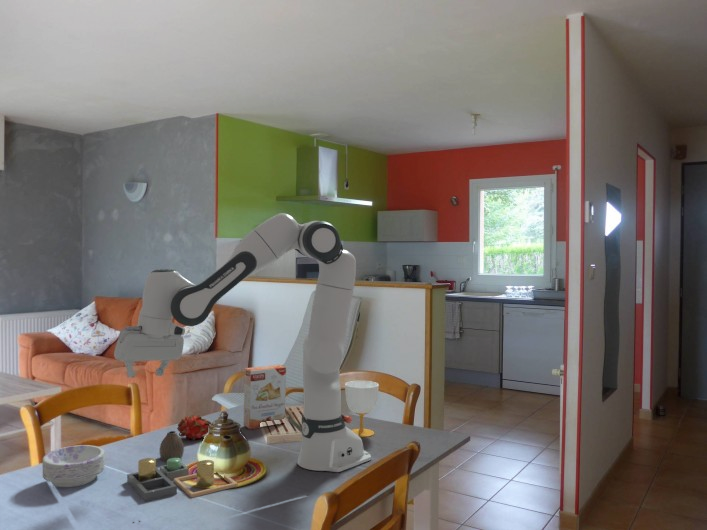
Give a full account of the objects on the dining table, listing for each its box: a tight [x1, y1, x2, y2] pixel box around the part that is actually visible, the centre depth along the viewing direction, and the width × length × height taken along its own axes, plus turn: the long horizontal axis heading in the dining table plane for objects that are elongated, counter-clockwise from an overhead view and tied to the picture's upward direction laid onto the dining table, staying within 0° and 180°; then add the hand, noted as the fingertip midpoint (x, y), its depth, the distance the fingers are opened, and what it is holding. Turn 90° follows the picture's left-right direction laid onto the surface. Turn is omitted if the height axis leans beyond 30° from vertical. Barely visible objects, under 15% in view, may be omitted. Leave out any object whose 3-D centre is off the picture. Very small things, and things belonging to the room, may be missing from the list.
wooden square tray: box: [173, 472, 238, 498], centre depth 161 cm, size 13×13×2 cm
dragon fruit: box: [176, 414, 212, 441], centre depth 201 cm, size 8×8×12 cm
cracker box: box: [243, 364, 287, 430], centre depth 217 cm, size 14×6×21 cm, turn 124°
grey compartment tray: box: [126, 467, 178, 502], centre depth 158 cm, size 8×15×3 cm, turn 36°
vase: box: [159, 430, 185, 462], centre depth 180 cm, size 7×7×9 cm
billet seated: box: [137, 457, 157, 482], centre depth 160 cm, size 4×4×6 cm
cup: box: [344, 379, 380, 438], centre depth 209 cm, size 12×12×17 cm
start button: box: [166, 458, 182, 472], centre depth 167 cm, size 4×4×3 cm
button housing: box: [159, 462, 190, 481], centre depth 167 cm, size 6×6×3 cm
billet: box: [196, 459, 215, 488], centre depth 161 cm, size 4×4×6 cm
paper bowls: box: [42, 444, 106, 488], centre depth 163 cm, size 15×15×8 cm
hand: (145, 376), depth 167 cm, fingers open, 8 cm apart
